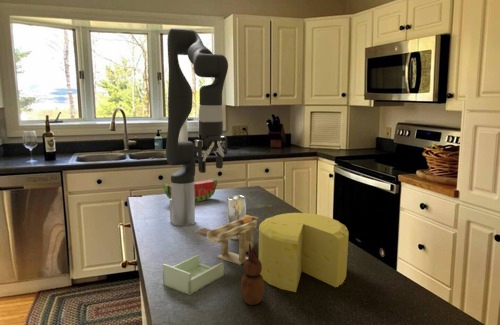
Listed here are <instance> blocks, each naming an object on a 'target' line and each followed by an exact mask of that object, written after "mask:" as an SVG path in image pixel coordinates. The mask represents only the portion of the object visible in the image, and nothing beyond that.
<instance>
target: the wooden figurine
mask: <svg viewBox="0 0 500 325" xmlns="http://www.w3.org/2000/svg"><path fill="white" fill-rule="evenodd" d="M247 257H248V259H247V260H246V261H245V262H244V263H243V271H244V273H243V275H242V276H241V281H240V282H241V284H240V285H241V286H240V290H241V295H242V299H243V300H242V301H244V303H246V304H247V305H251V306H255V305H258V304H259V303H261V301H262V300H263V296H264V293H265V283H264V282H265V280H263V277H262V275H261V274H260V273H261V271H262V264H261V262H260V260H259V258H257V257H258V256H256V252H255V251H254V246H253V247H252V250H251V245H250V243H249V252H248V256H247Z"/></svg>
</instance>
